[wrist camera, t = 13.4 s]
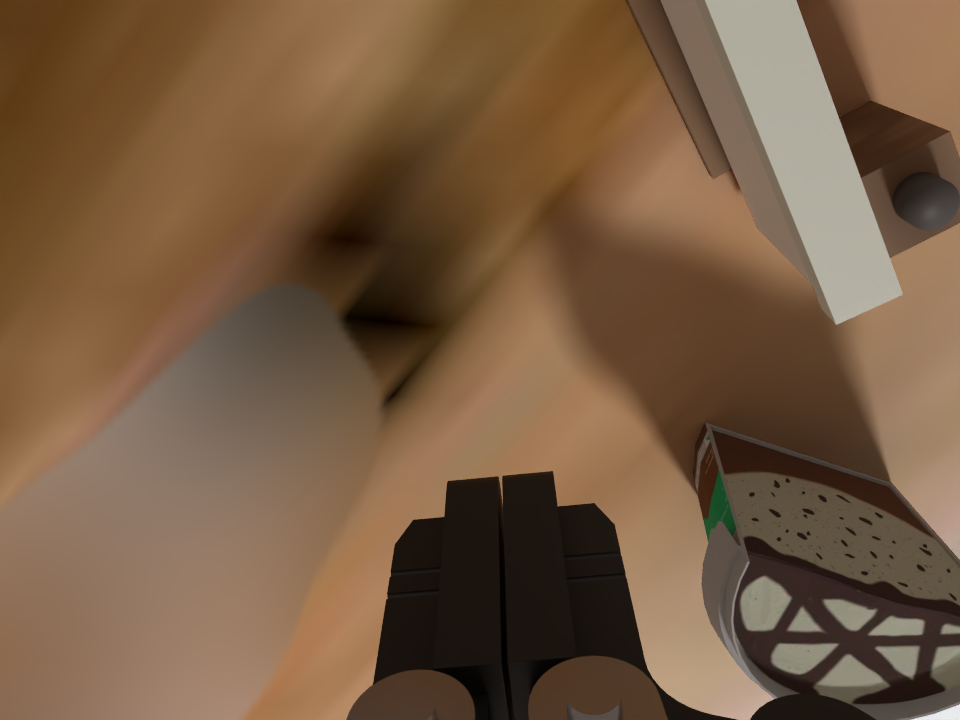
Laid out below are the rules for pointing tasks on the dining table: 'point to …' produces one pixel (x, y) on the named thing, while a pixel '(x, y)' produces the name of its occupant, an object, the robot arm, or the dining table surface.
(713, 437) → the food container
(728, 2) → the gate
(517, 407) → the dining table surface
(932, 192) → the latch post
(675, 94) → the sill
